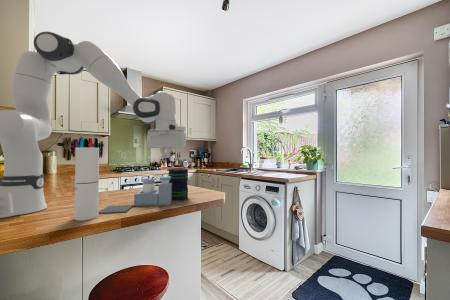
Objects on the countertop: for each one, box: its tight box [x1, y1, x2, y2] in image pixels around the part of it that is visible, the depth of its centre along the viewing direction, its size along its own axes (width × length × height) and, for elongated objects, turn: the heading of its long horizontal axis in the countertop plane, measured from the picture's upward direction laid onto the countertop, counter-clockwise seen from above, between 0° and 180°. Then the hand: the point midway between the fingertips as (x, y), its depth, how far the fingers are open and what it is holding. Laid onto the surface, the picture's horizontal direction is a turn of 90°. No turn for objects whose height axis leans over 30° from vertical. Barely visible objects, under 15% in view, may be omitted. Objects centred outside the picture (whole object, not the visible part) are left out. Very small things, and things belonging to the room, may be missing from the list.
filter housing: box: [133, 182, 172, 207], centre depth 96 cm, size 16×11×9 cm
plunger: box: [159, 175, 171, 185], centre depth 94 cm, size 4×4×7 cm
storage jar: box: [167, 168, 189, 202], centre depth 105 cm, size 10×10×15 cm
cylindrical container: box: [73, 146, 100, 221], centre depth 74 cm, size 7×7×25 cm
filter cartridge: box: [142, 177, 156, 193], centre depth 96 cm, size 5×5×11 cm
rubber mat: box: [98, 204, 134, 215], centre depth 84 cm, size 10×10×1 cm
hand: (165, 157), depth 95 cm, fingers closed
